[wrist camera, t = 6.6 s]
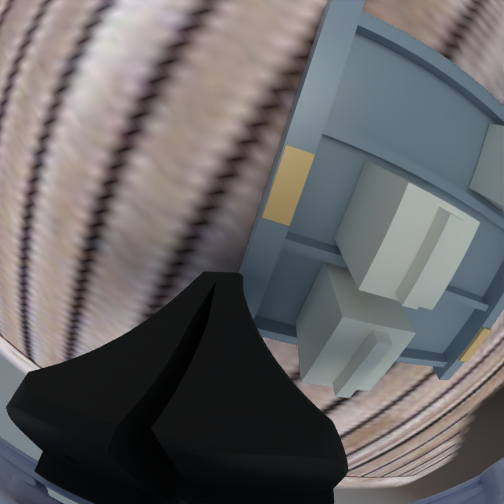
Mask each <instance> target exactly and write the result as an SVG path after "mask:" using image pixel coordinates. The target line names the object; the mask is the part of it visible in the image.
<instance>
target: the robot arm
mask: <svg viewBox="0 0 504 504" xmlns="http://www.w3.org/2000/svg"><path fill="white" fill-rule="evenodd" d="M6 409H7V412H8V415H9V417H10V418H11V420H12V421H13V422H14V423H15V425H16V426H17V427H18V428H19V429H20V430H21V431H22V432H23V433H24V434H25V435H26V436H28V438H29V439H30V440H31V441H33V443H35V444H36V445H37V446H38V447H39V448H40V449H41V450H42V451H43V453H42V455H41V457H40V459H39V461H37V460H35V459H34V458H32V457H30V456H29V455H27V454H26V453H24V452H23V451H21V450H19V449H18V448H16V447H15V446H13V445H12V444H10V443H9V442H7V441H6V440H5V439H3V438H2V437H0V504H63V503H61V502H60V501H58V500H56V499H54V498H52V497H51V496H50V495H49V494H48V490H47V488H46V487H48V488H50V489H51V490H53V491H55V492H57V493H59V494H60V495H62V496H64V497H66V498H68V499H70V500H72V501H74V502H76V503H79V504H334V493H333V488H334V487H335V486H336V485H337V484H338V483H339V482H340V481H341V480H342V479H343V478H344V477H345V476H346V474H347V472H348V462H347V458H346V454H345V451H344V447H343V444H342V442H341V439H340V436H339V434H338V432H337V430H336V427H335V425H334V423H333V421H332V420H331V419H330V418H328V417H327V416H326V415H325V414H324V413H323V412H322V411H321V410H319V409H318V408H317V407H316V406H315V405H314V404H313V403H312V402H311V401H310V400H309V399H308V398H307V397H306V396H305V395H304V394H303V393H302V392H301V390H300V389H299V388H298V387H297V386H296V385H295V384H294V383H293V381H292V380H291V379H290V378H289V376H288V375H287V374H286V373H285V371H284V370H283V369H282V367H281V366H280V365H279V364H278V362H277V361H276V360H275V358H274V356H273V355H272V353H271V352H270V350H269V349H268V347H267V346H266V344H265V342H264V340H263V339H262V337H261V335H260V333H259V331H258V329H257V327H256V325H255V323H254V320H253V318H252V316H251V313H250V311H249V308H248V305H247V302H246V299H245V295H244V291H243V276H242V275H241V274H240V273H229V272H203V273H202V274H201V275H200V276H198V277H197V278H196V279H195V280H194V281H193V282H192V283H191V284H190V285H189V286H188V287H186V288H185V289H184V290H183V291H182V292H181V293H180V294H179V295H177V296H176V297H175V298H174V299H173V300H172V301H171V302H169V303H168V304H167V305H166V306H164V307H163V308H162V309H160V310H159V311H158V312H157V313H155V314H154V315H153V316H152V317H150V318H149V319H147V320H146V321H144V322H143V323H142V324H140V325H139V326H137V327H135V328H134V329H132V330H131V331H129V332H127V333H126V334H124V335H122V336H120V337H118V338H117V339H115V340H113V341H111V342H109V343H107V344H105V345H103V346H101V347H99V348H97V349H95V350H93V351H91V352H88V353H86V354H84V355H81V356H79V357H76V358H73V359H71V360H68V361H65V362H62V363H59V364H56V365H52V366H49V367H45V368H42V369H38V370H35V371H30V372H28V373H27V375H26V377H25V378H24V380H23V381H22V383H21V384H20V386H19V387H18V389H17V390H16V392H15V394H14V395H13V397H12V399H11V400H10V402H9V403H8V405H7V406H6ZM45 486H46V487H45ZM409 504H504V458H502V459H501V460H499V461H497V462H496V463H494V464H493V465H492V466H490V467H489V468H487V469H486V470H485V471H484V472H483V473H482V474H481V475H479V476H477V477H475V478H473V479H471V480H469V481H466V482H464V483H462V484H460V485H457V486H455V487H453V488H451V489H448V490H446V491H443V492H441V493H438V494H435V495H433V496H430V497H427V498H424V499H421V500H418V501H415V502H412V503H409Z"/></svg>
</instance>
